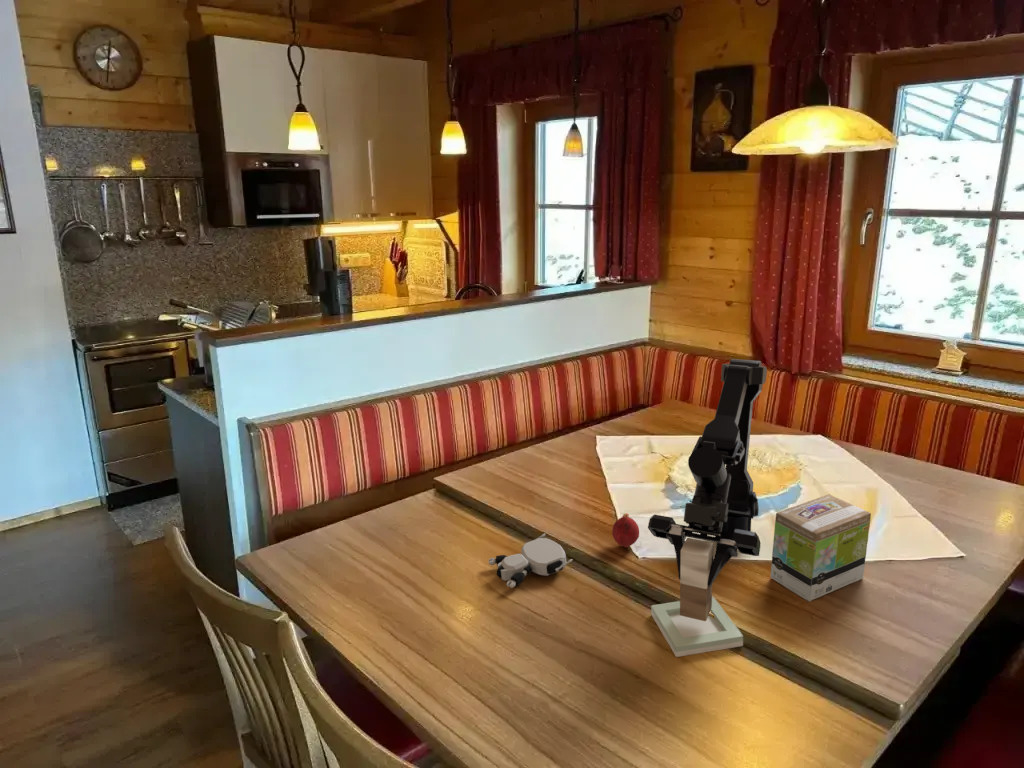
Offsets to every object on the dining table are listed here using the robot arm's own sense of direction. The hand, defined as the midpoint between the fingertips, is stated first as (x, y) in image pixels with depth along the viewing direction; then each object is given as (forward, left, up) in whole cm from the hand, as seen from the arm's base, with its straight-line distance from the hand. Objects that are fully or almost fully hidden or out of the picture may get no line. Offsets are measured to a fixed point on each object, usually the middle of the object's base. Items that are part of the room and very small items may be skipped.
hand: (694, 582), depth 121 cm
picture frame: (-1, -1, -10) cm, 10 cm away
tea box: (-30, -10, -11) cm, 33 cm away
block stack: (-1, -1, -7) cm, 7 cm away
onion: (+2, -31, -11) cm, 33 cm away
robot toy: (+24, -27, -11) cm, 38 cm away
